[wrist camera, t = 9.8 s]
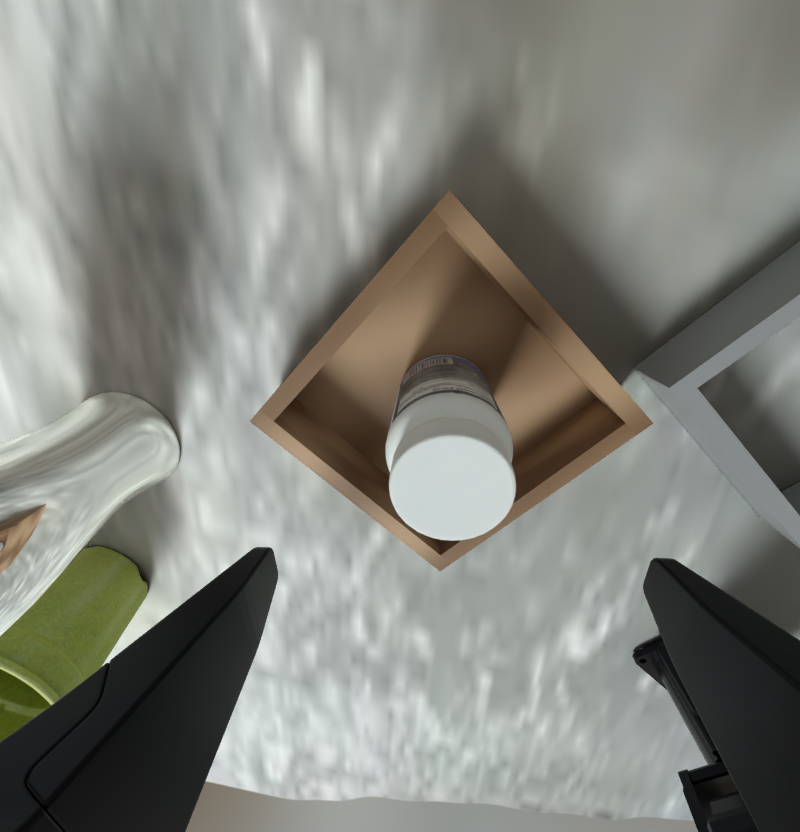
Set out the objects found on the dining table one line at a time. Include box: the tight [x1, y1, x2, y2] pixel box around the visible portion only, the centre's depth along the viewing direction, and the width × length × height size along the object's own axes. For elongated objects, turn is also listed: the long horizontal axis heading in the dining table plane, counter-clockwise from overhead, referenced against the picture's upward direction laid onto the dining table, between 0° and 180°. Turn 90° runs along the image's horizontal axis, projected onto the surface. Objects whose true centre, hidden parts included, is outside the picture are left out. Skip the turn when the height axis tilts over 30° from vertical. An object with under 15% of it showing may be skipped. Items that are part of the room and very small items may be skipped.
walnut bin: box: [250, 190, 653, 571], centre depth 18 cm, size 13×13×4 cm
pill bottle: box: [385, 355, 516, 541], centre depth 15 cm, size 5×5×8 cm
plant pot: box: [0, 546, 148, 741], centre depth 23 cm, size 9×9×9 cm
